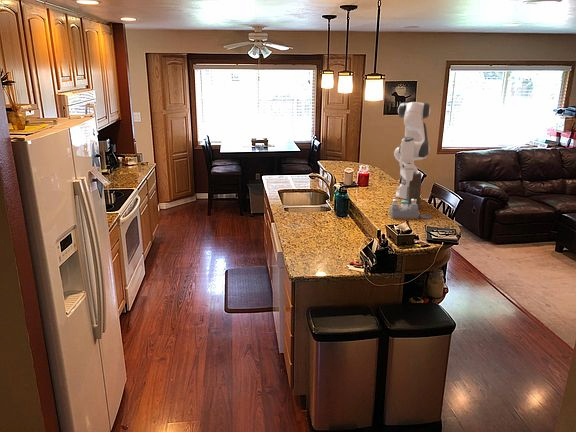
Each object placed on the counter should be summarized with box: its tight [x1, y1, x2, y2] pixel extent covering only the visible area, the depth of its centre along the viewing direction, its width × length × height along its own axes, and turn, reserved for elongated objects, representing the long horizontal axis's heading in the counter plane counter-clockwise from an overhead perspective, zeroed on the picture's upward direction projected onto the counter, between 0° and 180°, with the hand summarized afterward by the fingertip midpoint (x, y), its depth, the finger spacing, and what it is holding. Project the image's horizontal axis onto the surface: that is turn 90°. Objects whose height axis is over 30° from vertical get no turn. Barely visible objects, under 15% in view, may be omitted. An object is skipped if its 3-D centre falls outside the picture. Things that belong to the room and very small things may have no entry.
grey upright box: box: [405, 171, 423, 210], centre depth 319 cm, size 19×8×25 cm, turn 170°
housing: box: [388, 203, 420, 220], centre depth 300 cm, size 10×17×8 cm, turn 88°
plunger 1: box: [392, 198, 399, 206], centre depth 299 cm, size 4×4×6 cm
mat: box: [418, 214, 434, 220], centre depth 298 cm, size 8×8×1 cm
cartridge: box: [400, 199, 408, 210], centre depth 299 cm, size 5×5×10 cm
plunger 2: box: [411, 199, 417, 206], centre depth 298 cm, size 4×4×6 cm
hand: (405, 184), depth 295 cm, fingers open, 8 cm apart
